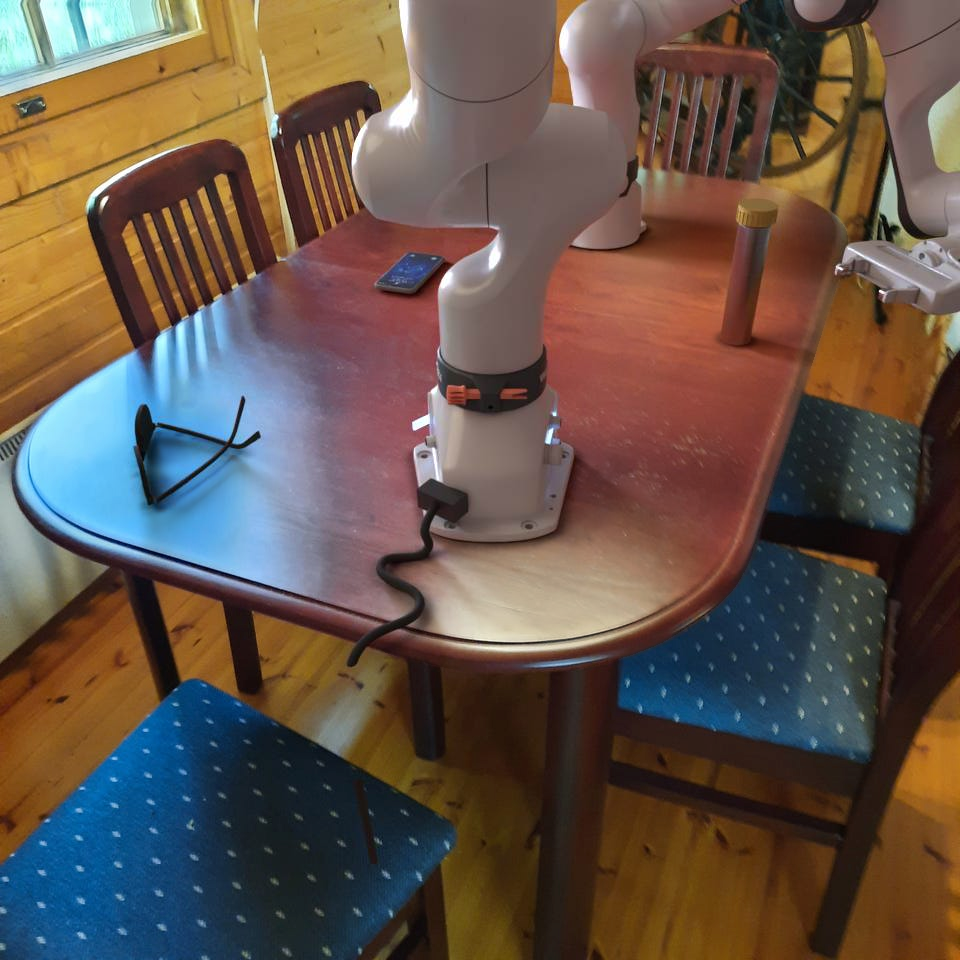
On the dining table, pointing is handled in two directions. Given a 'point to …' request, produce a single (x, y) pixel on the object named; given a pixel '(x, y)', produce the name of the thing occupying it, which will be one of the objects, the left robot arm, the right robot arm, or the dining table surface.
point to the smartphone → (409, 272)
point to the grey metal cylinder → (744, 284)
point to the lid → (757, 213)
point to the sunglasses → (147, 427)
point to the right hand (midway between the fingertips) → (859, 283)
